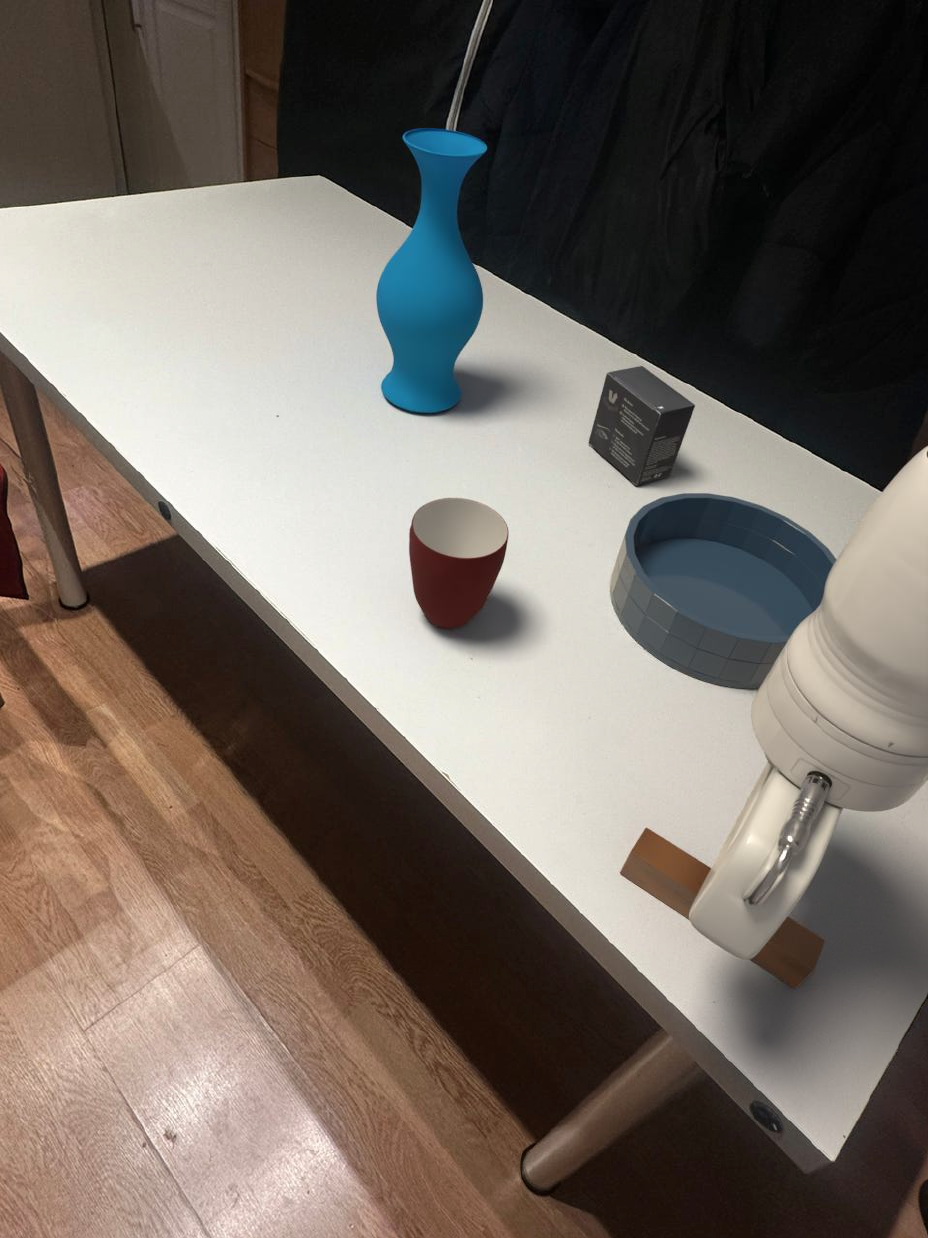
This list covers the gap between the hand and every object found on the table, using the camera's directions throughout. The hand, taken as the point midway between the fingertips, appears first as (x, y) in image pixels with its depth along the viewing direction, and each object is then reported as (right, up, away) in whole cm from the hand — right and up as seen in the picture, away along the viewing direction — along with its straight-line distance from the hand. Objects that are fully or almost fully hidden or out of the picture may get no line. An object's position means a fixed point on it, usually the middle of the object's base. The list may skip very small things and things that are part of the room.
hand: (745, 856), depth 51 cm
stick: (-1, -6, +5) cm, 8 cm away
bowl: (+7, +16, +28) cm, 33 cm away
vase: (-23, +42, +50) cm, 70 cm away
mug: (-20, +16, +24) cm, 35 cm away
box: (+2, +33, +45) cm, 56 cm away
